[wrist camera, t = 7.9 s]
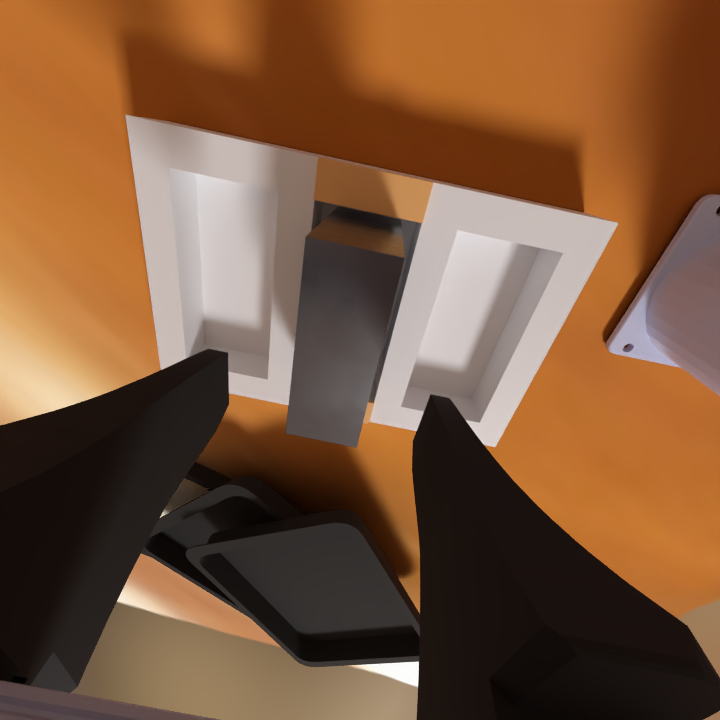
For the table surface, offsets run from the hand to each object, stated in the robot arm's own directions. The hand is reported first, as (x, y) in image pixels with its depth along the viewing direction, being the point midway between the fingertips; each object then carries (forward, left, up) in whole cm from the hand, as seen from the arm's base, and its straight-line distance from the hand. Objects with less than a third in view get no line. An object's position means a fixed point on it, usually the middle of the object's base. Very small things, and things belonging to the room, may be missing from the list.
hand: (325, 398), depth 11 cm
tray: (+1, +24, -10) cm, 26 cm away
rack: (0, 0, -9) cm, 9 cm away
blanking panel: (0, 0, -9) cm, 9 cm away
